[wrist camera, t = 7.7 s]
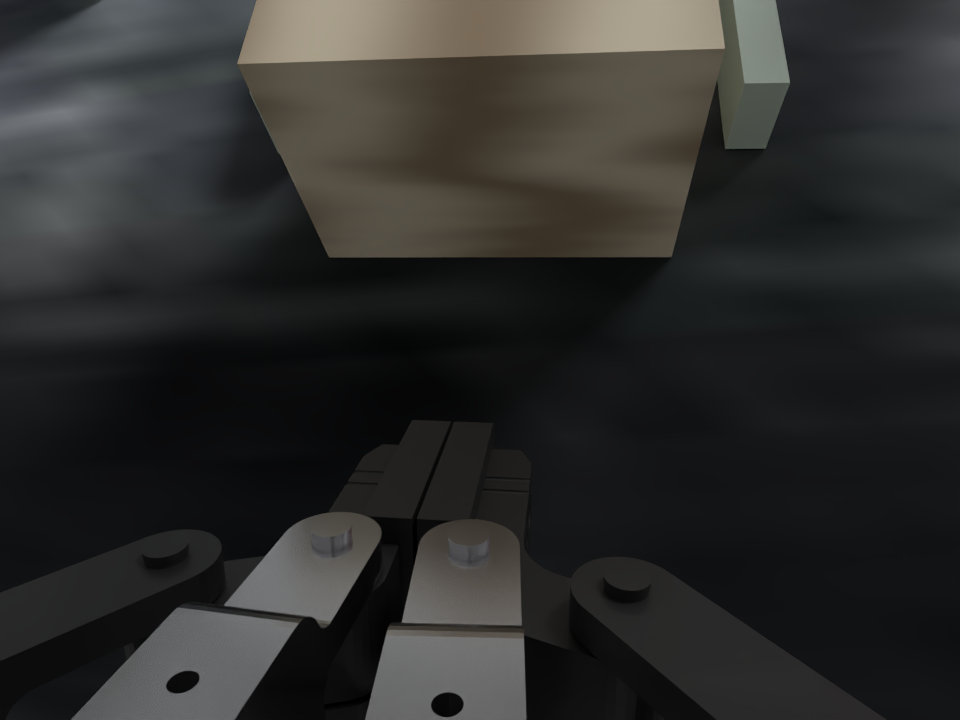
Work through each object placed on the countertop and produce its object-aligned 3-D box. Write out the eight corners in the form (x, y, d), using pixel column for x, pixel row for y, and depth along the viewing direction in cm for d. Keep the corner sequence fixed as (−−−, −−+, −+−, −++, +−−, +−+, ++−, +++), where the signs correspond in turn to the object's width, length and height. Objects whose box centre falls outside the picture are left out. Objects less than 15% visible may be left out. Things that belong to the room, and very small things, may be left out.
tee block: (654, 19, 25) (688, -218, 18) (671, 257, 20) (725, 48, 14) (372, 30, 26) (316, -192, 20) (329, 257, 21) (237, 63, 15)
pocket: (741, -16, 25) (760, -89, 23) (765, 148, 22) (790, 82, 19) (319, -2, 27) (297, -67, 25) (278, 153, 23) (249, 93, 21)
